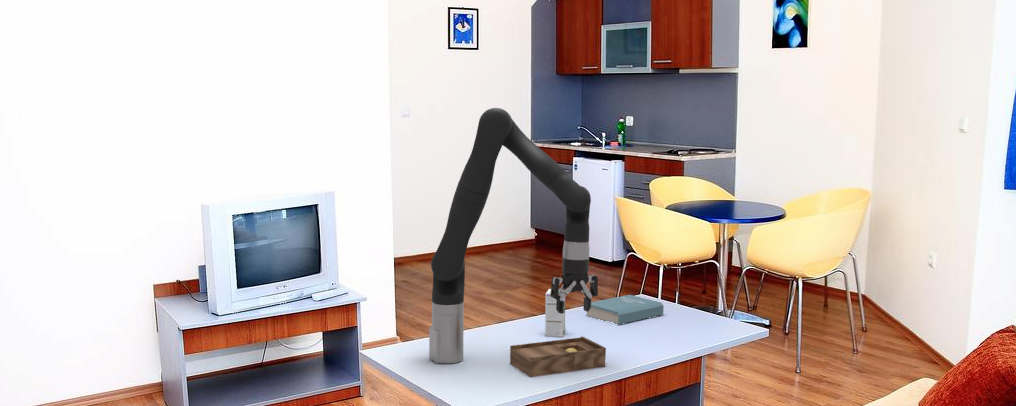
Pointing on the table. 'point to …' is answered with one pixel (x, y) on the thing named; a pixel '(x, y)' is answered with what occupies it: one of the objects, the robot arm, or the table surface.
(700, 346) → the table surface
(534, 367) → the wooden tray with hole
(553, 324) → the syrup box
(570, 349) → the ball
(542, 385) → the table surface
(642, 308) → the book
